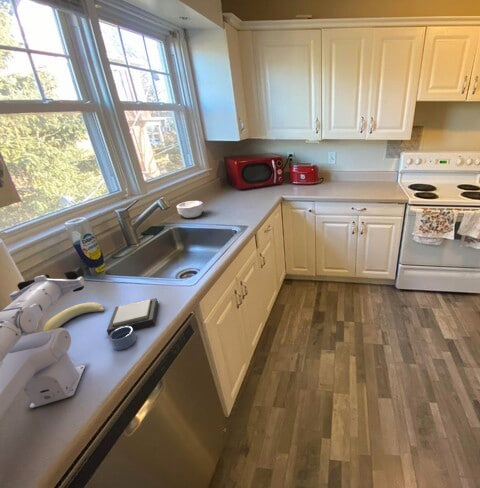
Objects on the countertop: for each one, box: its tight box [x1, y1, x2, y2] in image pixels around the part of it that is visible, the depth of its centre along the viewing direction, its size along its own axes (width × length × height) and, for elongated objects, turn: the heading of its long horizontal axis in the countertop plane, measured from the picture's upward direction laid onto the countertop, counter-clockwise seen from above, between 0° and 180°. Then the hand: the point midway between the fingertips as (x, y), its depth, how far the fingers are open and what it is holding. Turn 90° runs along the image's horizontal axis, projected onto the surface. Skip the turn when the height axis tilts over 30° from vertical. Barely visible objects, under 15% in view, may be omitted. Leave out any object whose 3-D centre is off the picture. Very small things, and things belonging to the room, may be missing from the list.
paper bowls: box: [176, 200, 205, 219], centre depth 176 cm, size 15×15×8 cm
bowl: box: [108, 326, 137, 351], centre depth 80 cm, size 6×6×4 cm
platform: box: [113, 299, 151, 326], centre depth 89 cm, size 9×9×1 cm
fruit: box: [42, 301, 106, 332], centre depth 90 cm, size 7×15×3 cm, turn 146°
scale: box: [106, 297, 159, 336], centre depth 90 cm, size 12×12×2 cm
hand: (65, 274), depth 77 cm, fingers open, 7 cm apart
